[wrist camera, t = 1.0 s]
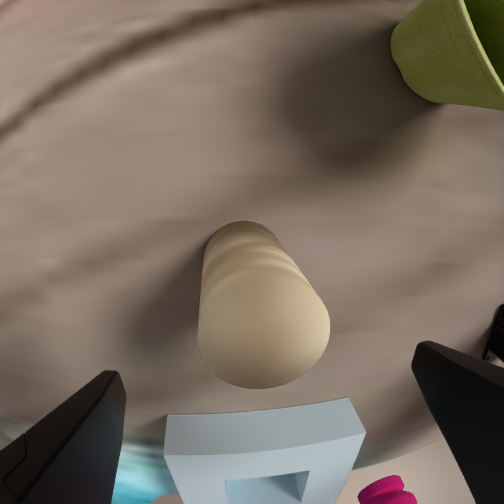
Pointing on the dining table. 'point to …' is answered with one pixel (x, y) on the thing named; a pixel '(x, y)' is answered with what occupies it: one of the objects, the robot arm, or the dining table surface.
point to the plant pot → (453, 51)
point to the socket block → (264, 454)
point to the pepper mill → (386, 492)
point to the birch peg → (257, 310)
